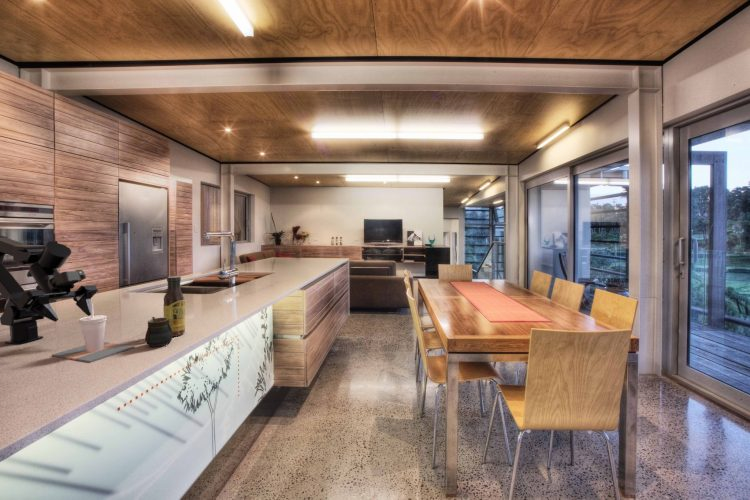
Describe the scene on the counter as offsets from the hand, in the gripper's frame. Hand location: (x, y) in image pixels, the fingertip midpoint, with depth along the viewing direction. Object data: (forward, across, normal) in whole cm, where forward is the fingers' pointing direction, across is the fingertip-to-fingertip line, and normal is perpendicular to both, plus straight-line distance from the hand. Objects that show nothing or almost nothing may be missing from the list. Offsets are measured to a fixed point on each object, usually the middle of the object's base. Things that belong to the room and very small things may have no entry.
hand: (74, 317), depth 101 cm
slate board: (+13, -1, 0) cm, 13 cm away
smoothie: (+13, 0, 0) cm, 13 cm away
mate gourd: (+22, +8, -11) cm, 26 cm away
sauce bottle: (+19, +18, -9) cm, 28 cm away
